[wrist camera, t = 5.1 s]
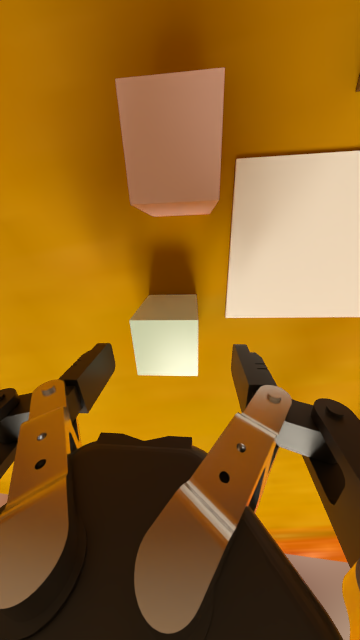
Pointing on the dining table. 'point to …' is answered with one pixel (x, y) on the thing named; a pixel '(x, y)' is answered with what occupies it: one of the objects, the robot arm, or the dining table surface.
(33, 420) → the robot arm
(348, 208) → the plate
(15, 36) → the dining table surface
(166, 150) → the block
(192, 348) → the pale green rectangular block
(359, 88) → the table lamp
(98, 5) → the dining table surface
